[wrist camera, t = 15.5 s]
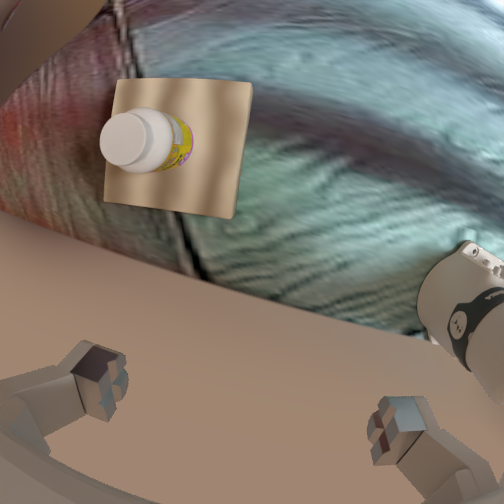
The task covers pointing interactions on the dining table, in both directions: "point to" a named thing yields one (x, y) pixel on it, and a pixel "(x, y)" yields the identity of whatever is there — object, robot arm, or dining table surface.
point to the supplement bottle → (146, 141)
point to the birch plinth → (204, 152)
